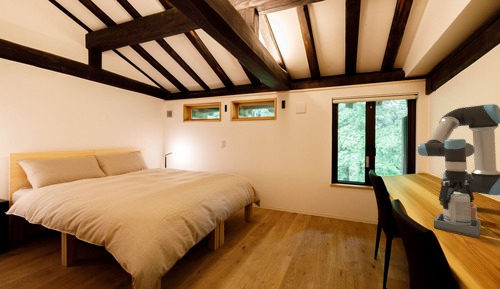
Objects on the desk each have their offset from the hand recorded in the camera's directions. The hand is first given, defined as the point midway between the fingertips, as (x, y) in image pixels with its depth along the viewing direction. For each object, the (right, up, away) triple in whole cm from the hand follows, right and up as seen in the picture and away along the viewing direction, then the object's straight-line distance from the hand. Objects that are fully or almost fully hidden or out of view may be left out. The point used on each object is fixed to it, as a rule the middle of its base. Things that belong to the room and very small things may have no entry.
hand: (456, 215), depth 100 cm
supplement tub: (0, -4, 0) cm, 4 cm away
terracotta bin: (+13, -6, +9) cm, 17 cm away
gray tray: (0, -7, 0) cm, 7 cm away
